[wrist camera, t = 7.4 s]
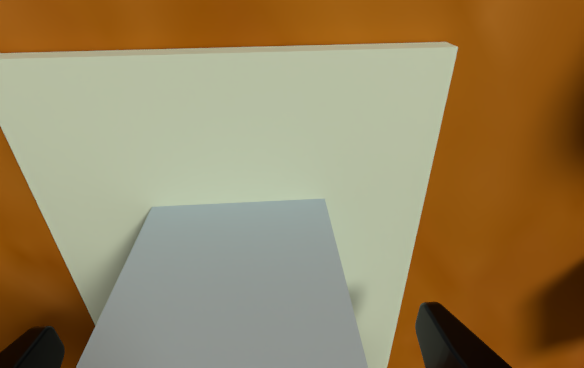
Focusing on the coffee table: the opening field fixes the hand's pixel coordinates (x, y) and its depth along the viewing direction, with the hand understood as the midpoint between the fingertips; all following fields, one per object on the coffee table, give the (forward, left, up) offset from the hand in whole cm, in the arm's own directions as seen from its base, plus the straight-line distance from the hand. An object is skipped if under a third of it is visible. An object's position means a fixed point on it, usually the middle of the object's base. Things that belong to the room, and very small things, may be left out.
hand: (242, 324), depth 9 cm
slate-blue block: (0, 0, -2) cm, 2 cm away
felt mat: (0, 0, -3) cm, 3 cm away
